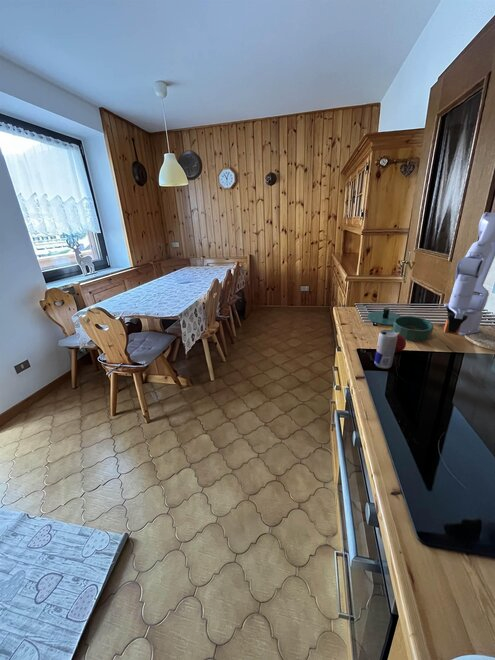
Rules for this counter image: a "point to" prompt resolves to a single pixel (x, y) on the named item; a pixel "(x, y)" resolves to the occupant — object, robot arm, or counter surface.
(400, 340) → the onion
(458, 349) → the counter surface
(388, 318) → the tin lid
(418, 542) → the counter surface
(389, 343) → the energy drink
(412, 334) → the tin
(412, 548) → the counter surface
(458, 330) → the block
